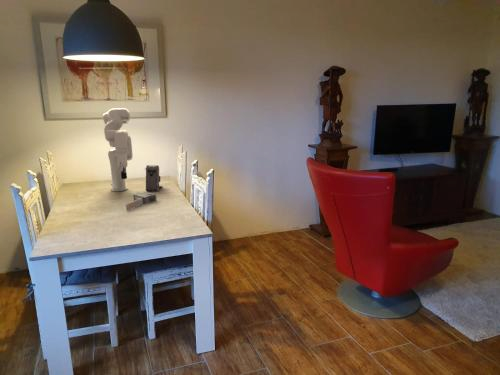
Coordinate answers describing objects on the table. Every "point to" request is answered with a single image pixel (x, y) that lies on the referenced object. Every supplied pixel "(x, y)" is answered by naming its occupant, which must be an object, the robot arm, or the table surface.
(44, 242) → the table surface
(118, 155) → the robot arm
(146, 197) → the housing
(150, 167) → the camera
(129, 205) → the side door
